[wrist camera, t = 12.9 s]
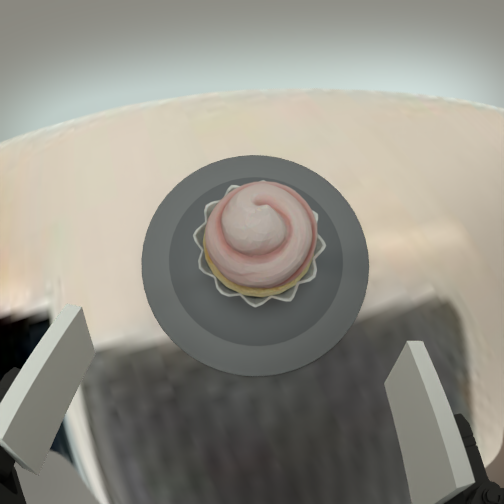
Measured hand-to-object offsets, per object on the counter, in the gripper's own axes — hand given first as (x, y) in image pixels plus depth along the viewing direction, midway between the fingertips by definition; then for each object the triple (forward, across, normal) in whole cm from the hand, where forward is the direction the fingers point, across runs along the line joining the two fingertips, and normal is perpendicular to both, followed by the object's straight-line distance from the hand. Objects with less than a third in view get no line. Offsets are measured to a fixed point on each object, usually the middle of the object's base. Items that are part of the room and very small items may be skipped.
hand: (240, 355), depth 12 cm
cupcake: (+15, 0, -4) cm, 16 cm away
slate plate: (+16, 0, -5) cm, 17 cm away
